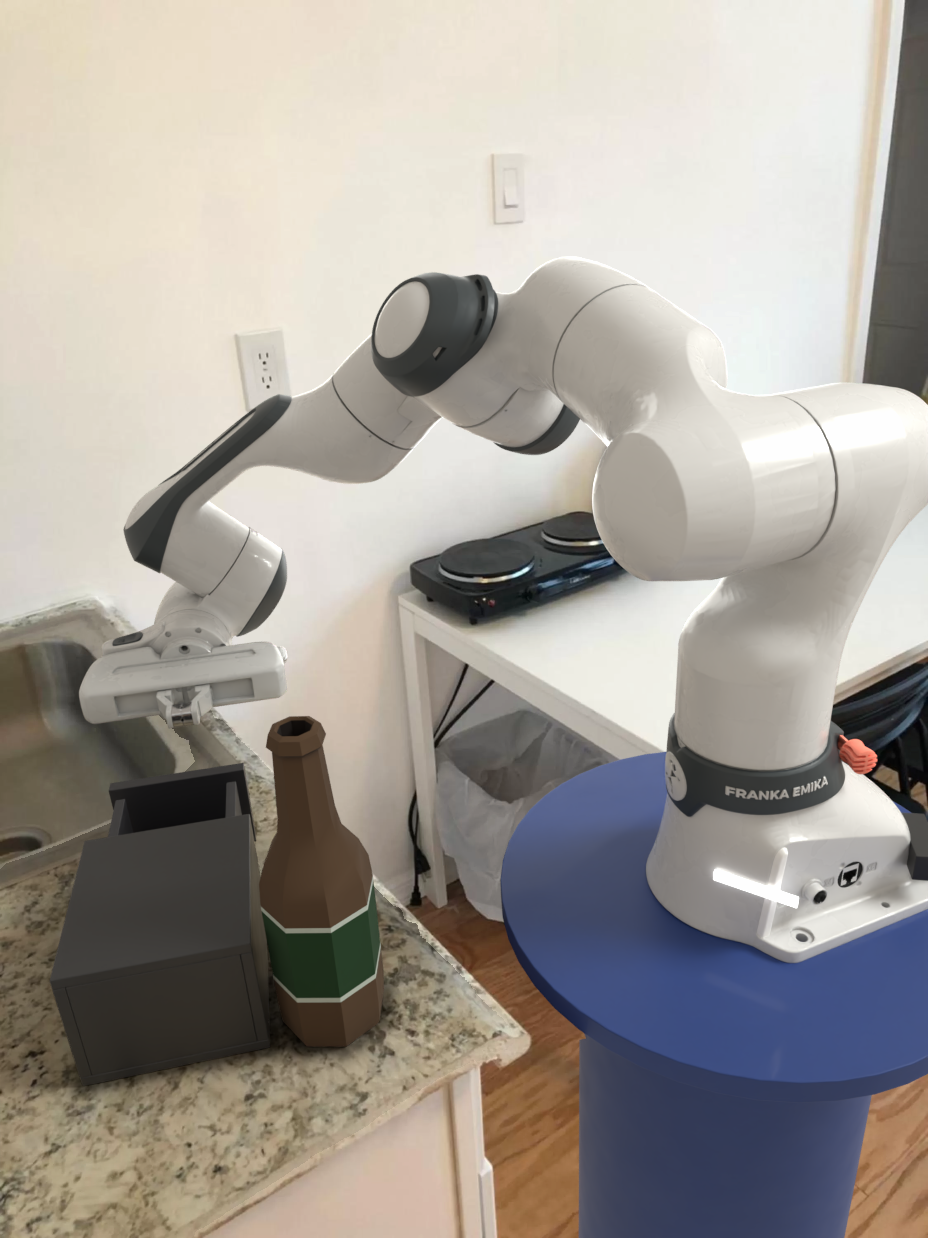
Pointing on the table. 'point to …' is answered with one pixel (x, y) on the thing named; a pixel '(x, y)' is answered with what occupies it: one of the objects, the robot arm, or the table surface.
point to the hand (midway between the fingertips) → (182, 720)
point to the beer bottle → (318, 900)
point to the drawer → (179, 799)
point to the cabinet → (164, 951)
